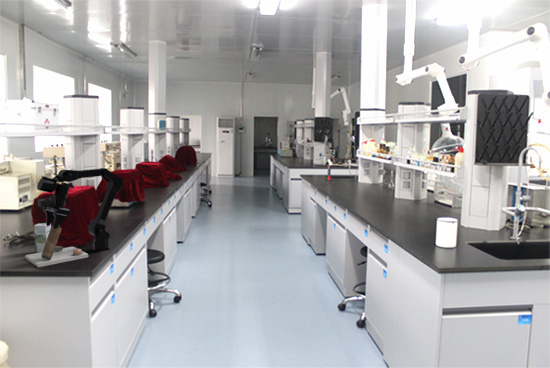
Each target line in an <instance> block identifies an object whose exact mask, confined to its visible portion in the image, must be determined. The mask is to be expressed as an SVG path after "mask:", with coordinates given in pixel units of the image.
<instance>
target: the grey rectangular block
mask: <svg viewBox="0 0 550 368" xmlns="http://www.w3.org/2000/svg"><path fill="white" fill-rule="evenodd" d="M63 248H64V246H61V245H60V246H59V245H56V247H55V250H54V251H59V250H63Z"/></svg>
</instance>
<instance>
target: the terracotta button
mask: <svg viewBox="0 0 550 368" xmlns="http://www.w3.org/2000/svg"><path fill="white" fill-rule="evenodd" d="M81 251H82V249H81V248H77V249H74V250H73V254H74V255H77V254H81Z"/></svg>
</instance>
